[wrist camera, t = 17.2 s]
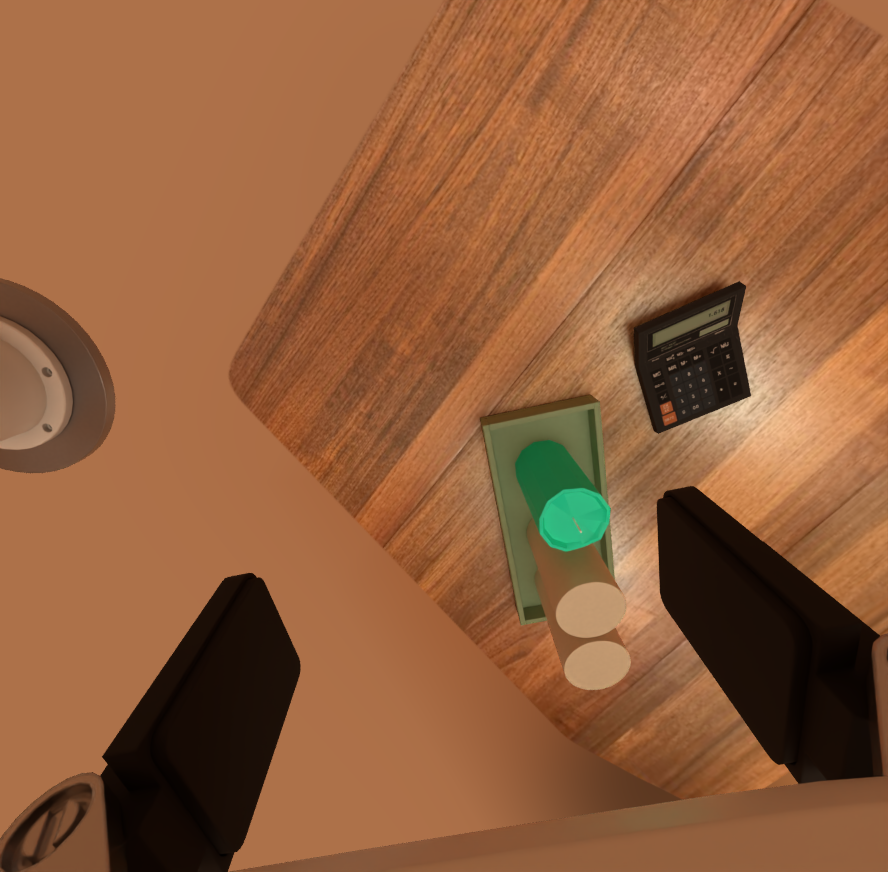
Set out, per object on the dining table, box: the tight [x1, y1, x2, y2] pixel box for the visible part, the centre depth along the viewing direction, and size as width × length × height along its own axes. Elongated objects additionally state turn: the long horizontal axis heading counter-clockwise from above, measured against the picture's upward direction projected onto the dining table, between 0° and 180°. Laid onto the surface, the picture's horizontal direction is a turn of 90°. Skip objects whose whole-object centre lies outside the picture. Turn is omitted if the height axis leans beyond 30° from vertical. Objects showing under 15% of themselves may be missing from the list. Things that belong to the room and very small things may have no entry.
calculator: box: [634, 282, 751, 433], centre depth 40 cm, size 9×12×3 cm
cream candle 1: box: [527, 518, 626, 638], centre depth 41 cm, size 6×6×12 cm
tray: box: [480, 395, 615, 625], centre depth 46 cm, size 11×25×2 cm, turn 12°
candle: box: [515, 440, 611, 552], centre depth 39 cm, size 6×6×12 cm
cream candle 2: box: [534, 569, 631, 690], centre depth 44 cm, size 6×6×12 cm
